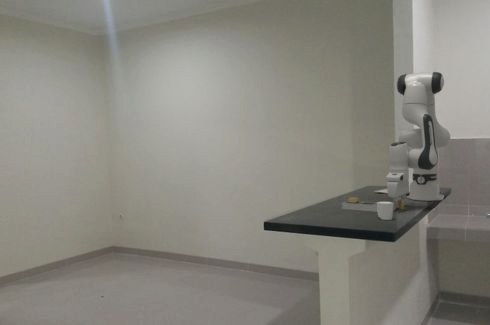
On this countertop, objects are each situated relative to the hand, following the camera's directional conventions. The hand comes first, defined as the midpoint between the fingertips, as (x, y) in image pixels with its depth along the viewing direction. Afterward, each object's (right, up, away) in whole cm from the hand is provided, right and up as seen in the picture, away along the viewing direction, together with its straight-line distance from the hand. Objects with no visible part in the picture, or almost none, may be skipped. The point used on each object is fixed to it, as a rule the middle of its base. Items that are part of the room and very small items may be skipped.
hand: (399, 204), depth 194 cm
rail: (-15, -3, -1) cm, 15 cm away
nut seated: (-21, -2, +4) cm, 21 cm away
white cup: (-14, -4, -20) cm, 25 cm away
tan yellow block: (0, -2, +1) cm, 2 cm away
